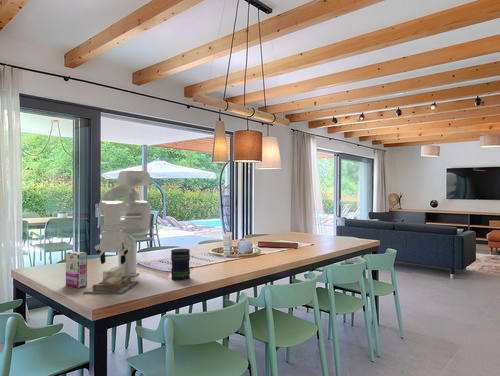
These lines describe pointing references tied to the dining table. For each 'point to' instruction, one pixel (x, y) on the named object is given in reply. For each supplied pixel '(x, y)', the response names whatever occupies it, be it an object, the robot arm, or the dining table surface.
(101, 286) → the slot board
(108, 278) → the ash block
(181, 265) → the storage jar
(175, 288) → the dining table surface
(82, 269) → the candy bar box
